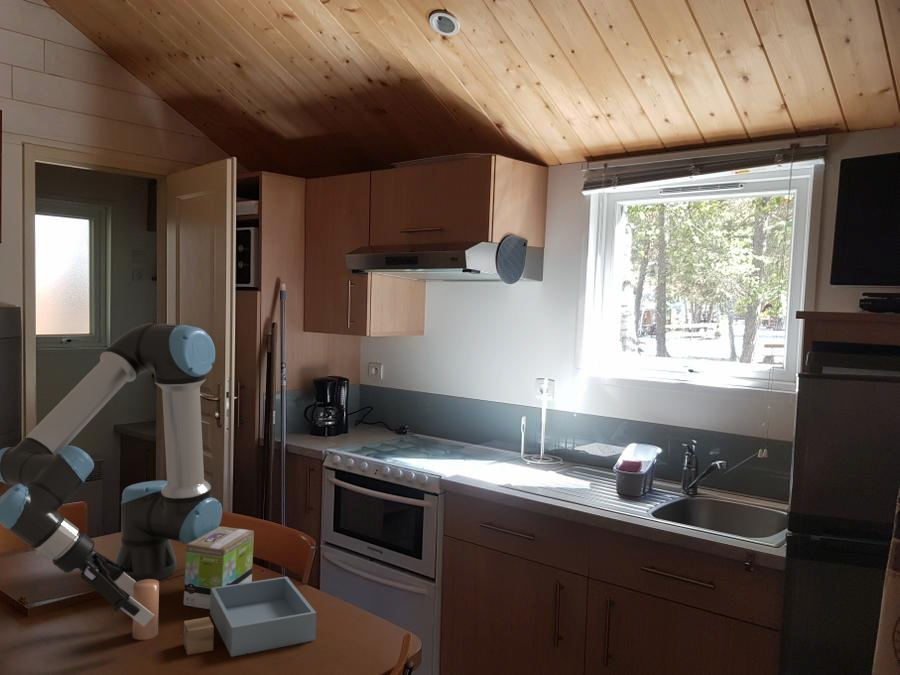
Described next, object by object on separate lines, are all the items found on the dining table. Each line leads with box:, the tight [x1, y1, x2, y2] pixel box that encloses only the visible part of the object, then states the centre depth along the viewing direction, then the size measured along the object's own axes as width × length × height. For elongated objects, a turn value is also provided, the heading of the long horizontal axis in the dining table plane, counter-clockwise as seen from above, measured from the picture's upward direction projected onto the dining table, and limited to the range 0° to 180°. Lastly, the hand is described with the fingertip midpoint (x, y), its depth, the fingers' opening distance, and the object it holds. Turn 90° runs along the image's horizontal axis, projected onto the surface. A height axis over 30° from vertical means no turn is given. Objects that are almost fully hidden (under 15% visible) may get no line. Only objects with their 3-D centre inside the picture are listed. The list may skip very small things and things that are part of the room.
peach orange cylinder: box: [132, 579, 160, 641], centre depth 155 cm, size 5×5×11 cm
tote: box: [209, 576, 317, 658], centre depth 161 cm, size 22×18×6 cm
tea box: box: [183, 525, 255, 610], centre depth 176 cm, size 15×10×15 cm, turn 168°
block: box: [183, 616, 215, 656], centre depth 151 cm, size 5×5×5 cm
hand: (145, 607), depth 154 cm, fingers open, 13 cm apart
